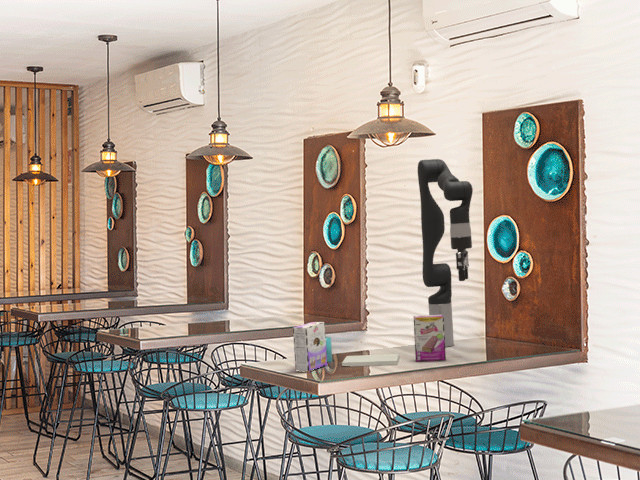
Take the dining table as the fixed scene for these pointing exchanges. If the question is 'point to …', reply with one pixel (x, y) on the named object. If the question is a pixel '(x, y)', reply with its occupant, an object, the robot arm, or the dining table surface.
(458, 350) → the dining table surface
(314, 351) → the candy box
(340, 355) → the dining table surface
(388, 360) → the plain white board
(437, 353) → the candy bar box
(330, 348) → the teal rounded cylinder
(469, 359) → the dining table surface
